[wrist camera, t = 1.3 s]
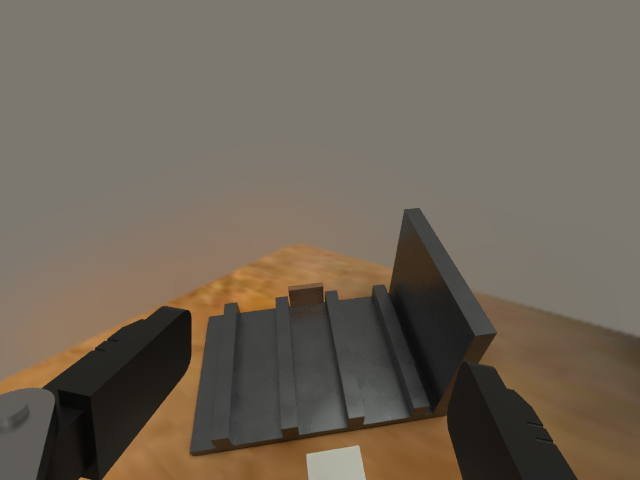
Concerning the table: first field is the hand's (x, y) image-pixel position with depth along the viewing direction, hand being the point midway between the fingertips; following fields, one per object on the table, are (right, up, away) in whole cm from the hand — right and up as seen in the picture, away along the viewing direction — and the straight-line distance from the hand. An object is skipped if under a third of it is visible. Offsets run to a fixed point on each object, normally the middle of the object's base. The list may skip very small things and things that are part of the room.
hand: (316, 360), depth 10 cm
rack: (0, -10, +25) cm, 27 cm away
